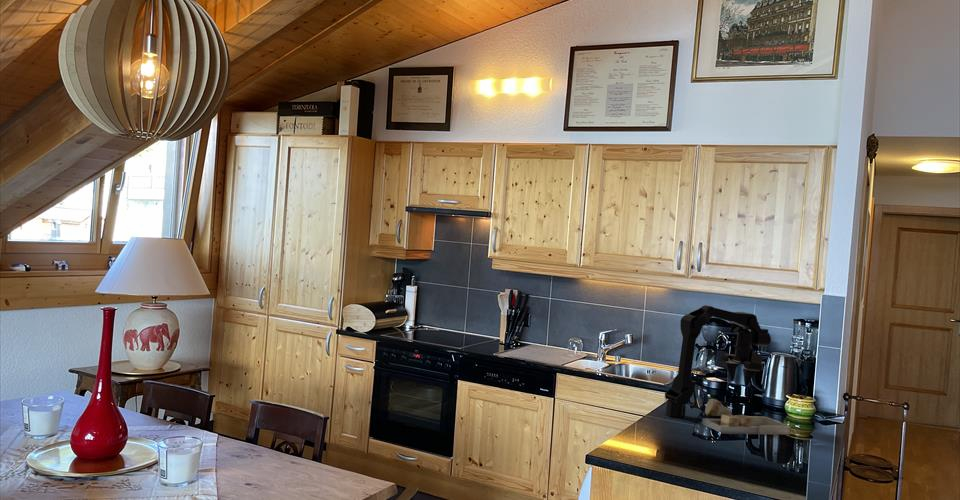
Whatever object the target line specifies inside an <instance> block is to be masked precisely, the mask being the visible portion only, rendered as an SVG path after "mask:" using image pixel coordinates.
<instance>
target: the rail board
mask: <svg viewBox="0 0 960 500" xmlns="http://www.w3.org/2000/svg"><path fill="white" fill-rule="evenodd" d="M746 416H747V417H750V418H752V420H751V426H730V425H720V424H721V418H702V421H701V422H700V424H701V425H703V426H705V427H708V428H710V429H713V430H714V431H716V432H719V433H721V434H722V435H723V434H726V435H727V434H728V435H729V434H731V435H739V434H740V435H774V436H775V435H776V436H779V435H781V436H782V435H783V436H791V433H792V425H791V426H790V425H788V424H785V423H783V422H781V421H778V420H776V419H773V418H771V417H768V416H760V415H759V416H758V415H753V416H751V415H750V416H749V415H746Z"/></svg>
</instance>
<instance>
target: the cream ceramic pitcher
mask: <svg viewBox="0 0 960 500" xmlns="http://www.w3.org/2000/svg"><path fill="white" fill-rule="evenodd" d="M704 409H705V410H704V414H705V415H707V416H711V417H721V416H722V415H732V410H731V409H730V408H729V407H726V406H725V405H723V404H722V403H721V402H720V401H719V400H718V399H715V398H710V399H709V400H707V403H706V404H705V408H704Z"/></svg>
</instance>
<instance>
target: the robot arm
mask: <svg viewBox="0 0 960 500" xmlns="http://www.w3.org/2000/svg"><path fill="white" fill-rule="evenodd" d="M711 318H716V319H720V320H726V321H730V322H732V323H733V324H735V325H737V326H736V328H734V329H733V330H732V332H734V333H737V334H736V335H737V336H736V343H735V345H733V349H734V350H735V351H734V354H733V353H732V354H731V353H723V355H722V356H721V361H722V362H723V364H724V367H725V369H726V370H727V374H728V376H729V379H730V381H731V382H734V380H735V376H736V372H737V368H738V367H739V366H740V365H743V368H742V373H743V382H744V383H743V384H744V387H749V385H750V383H751V381H752V378H753V377H754V375H755V374H756V373H759V372H761V371H763V369H764V368H763V367H764V365H763V363H762V362H763V360H764V357H763V356H762V355H760V354H758V353H755V349H754V348H753V347H752V345H753V346H759V347H768V346H769V345H770V344H771V341H772V338H771V334H770V333H769V329H767V328H761V325H760V324H759V322H758V318H757V315H755V314H753V313H751V312H750V313H749V312H745V311H744V312H743V311H730V310H726V309H721V308H717V307H714V306H712V305H708V304H707V305H703V306H700V307H699V308H698V309H695V310H693V311H691V312H689V313H688V314H685V315H683V316H682V317H681V319H680V322H679V323H680V332H681V335H682V341H681V350H680V356H679V363H678V371H677V375H676V376H674V379H673V381H672V384H671V387H670V388H669V389H667V391H666V392H665V393H664V397H665V399H666V408H665V413H663V415H664V416H666V417H669V418H671V419H687V417H685V416H686V409H687V408H686V405H689V402H690V400H691V398H692V397H693V396H694V393H695V392H696V391H695V388H696V382H697V381H694V380H693V379H692V371H693V361H694V356H695V348H696V342H697V339H698V337H699V336H700V334H701V332H702V329H703V326H705V325H707V324H708V322H709V321H710V319H711Z"/></svg>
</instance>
